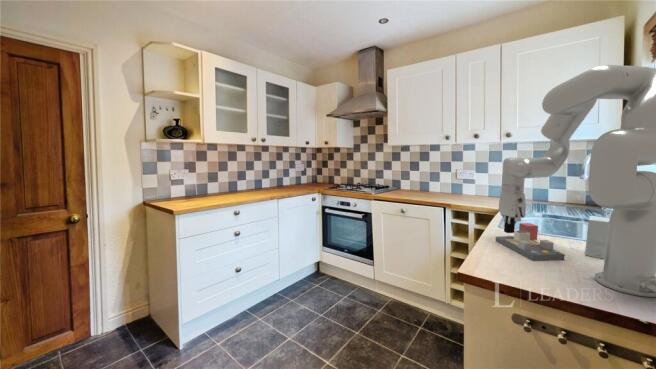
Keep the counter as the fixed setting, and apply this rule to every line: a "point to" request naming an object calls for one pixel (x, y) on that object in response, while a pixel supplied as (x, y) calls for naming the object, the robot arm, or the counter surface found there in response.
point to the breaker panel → (532, 248)
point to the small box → (597, 236)
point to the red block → (530, 229)
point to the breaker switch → (521, 235)
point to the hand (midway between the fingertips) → (509, 232)
